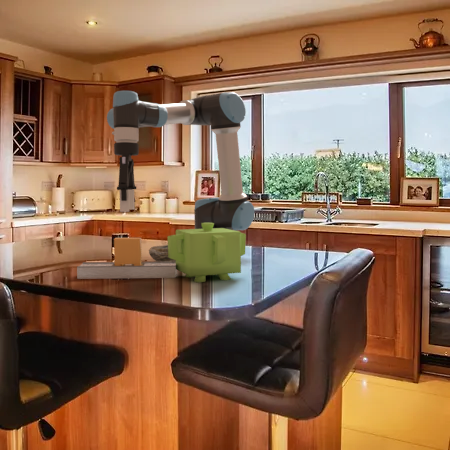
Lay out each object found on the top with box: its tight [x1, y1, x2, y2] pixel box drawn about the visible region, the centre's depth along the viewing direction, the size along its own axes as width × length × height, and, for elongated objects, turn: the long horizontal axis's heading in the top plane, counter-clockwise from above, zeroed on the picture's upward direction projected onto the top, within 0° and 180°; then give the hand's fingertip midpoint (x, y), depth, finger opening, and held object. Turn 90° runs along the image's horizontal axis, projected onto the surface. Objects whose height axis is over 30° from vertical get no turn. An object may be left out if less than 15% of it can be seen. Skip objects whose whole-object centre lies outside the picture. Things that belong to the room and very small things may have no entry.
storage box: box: [167, 223, 247, 283], centre depth 149 cm, size 25×23×17 cm
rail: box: [76, 261, 177, 280], centre depth 152 cm, size 30×8×4 cm, turn 94°
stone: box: [148, 244, 176, 262], centre depth 178 cm, size 14×10×10 cm
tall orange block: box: [113, 237, 142, 266], centre depth 151 cm, size 8×3×12 cm, turn 94°
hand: (127, 210), depth 151 cm, fingers open, 13 cm apart
